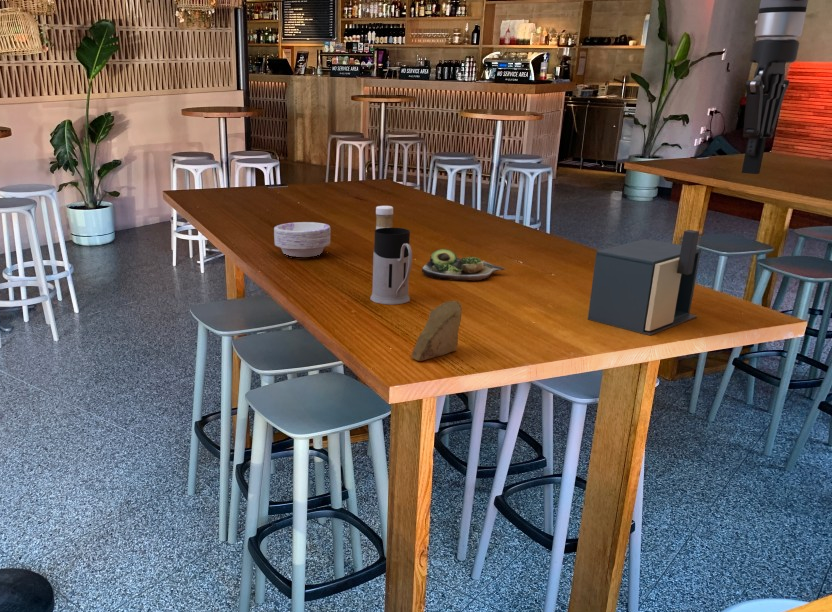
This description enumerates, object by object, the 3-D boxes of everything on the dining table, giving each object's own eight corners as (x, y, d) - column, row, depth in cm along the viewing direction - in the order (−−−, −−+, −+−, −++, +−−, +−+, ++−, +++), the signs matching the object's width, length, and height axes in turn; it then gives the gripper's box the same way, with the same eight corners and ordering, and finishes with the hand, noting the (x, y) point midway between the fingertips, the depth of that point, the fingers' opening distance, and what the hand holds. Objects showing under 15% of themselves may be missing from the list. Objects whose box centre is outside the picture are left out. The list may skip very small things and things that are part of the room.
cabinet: (696, 317, 161) (709, 249, 155) (650, 335, 150) (662, 263, 145) (635, 303, 170) (645, 238, 165) (587, 319, 160) (596, 250, 155)
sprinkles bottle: (394, 256, 213) (396, 206, 208) (387, 259, 209) (388, 208, 204) (379, 254, 215) (380, 204, 210) (371, 258, 211) (372, 207, 206)
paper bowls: (282, 248, 223) (281, 219, 220) (335, 250, 220) (335, 221, 217) (268, 260, 209) (267, 230, 206) (324, 262, 206) (324, 232, 203)
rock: (419, 356, 133) (474, 343, 135) (405, 309, 135) (459, 297, 137) (405, 373, 144) (456, 361, 145) (392, 329, 145) (443, 318, 147)
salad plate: (508, 268, 200) (510, 250, 198) (497, 285, 185) (499, 265, 183) (433, 262, 206) (434, 244, 205) (416, 278, 191) (417, 259, 189)
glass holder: (400, 292, 179) (402, 225, 174) (427, 309, 167) (431, 238, 161) (364, 295, 177) (365, 228, 171) (389, 313, 164) (391, 241, 159)
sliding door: (683, 324, 154) (699, 231, 147) (659, 333, 149) (675, 237, 142) (668, 321, 156) (684, 228, 149) (644, 330, 151) (659, 234, 144)
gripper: (770, 40, 150) (745, 168, 158) (738, 39, 142) (714, 174, 151) (813, 39, 144) (785, 172, 153) (783, 38, 137) (755, 178, 145)
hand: (750, 173), depth 152 cm, fingers closed
